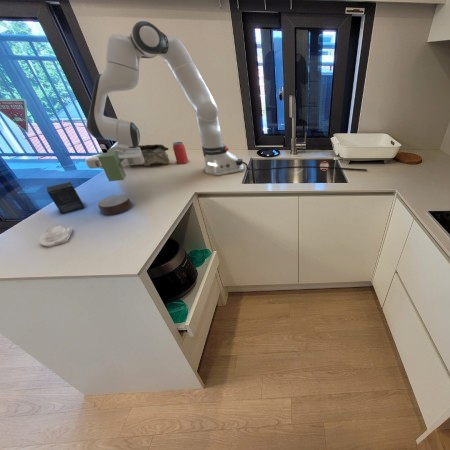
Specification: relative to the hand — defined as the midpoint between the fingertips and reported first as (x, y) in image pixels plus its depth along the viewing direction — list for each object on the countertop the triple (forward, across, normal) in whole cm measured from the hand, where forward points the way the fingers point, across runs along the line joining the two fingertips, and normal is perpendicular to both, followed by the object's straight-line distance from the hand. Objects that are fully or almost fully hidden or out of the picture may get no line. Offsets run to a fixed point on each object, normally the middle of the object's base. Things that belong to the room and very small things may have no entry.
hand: (111, 166), depth 96 cm
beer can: (-53, +20, +18) cm, 59 cm away
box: (-5, -22, +18) cm, 29 cm away
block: (-1, 0, +6) cm, 6 cm away
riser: (+1, -4, +18) cm, 19 cm away
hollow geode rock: (-56, -1, +18) cm, 59 cm away
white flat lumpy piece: (+19, -18, +18) cm, 32 cm away
